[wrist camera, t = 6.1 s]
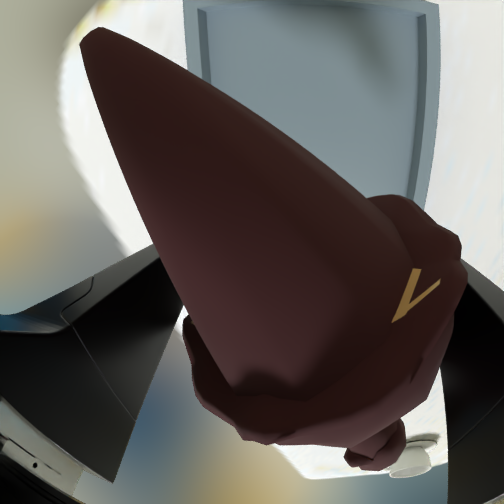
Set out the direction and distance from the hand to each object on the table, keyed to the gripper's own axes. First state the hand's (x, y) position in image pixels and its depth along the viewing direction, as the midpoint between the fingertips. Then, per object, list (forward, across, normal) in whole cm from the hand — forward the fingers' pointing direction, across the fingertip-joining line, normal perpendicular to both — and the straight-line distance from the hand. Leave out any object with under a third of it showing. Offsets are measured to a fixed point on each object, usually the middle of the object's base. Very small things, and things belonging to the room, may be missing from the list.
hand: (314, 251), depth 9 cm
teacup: (+12, -21, +47) cm, 53 cm away
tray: (+11, 0, 0) cm, 11 cm away
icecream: (+1, 0, 0) cm, 1 cm away
